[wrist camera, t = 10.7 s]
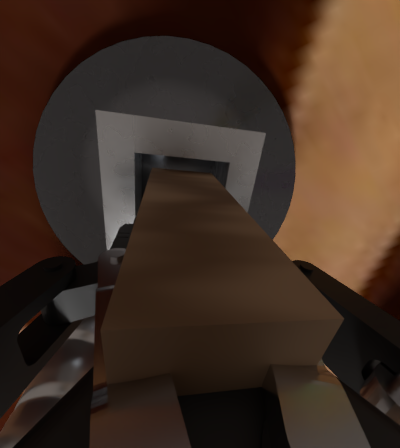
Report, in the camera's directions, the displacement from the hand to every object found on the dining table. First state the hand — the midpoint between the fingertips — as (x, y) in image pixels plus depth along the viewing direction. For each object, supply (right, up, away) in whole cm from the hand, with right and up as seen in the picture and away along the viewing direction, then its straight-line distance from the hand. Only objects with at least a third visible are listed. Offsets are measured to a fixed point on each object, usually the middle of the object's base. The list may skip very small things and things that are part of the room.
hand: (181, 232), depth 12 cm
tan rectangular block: (0, +2, +3) cm, 3 cm away
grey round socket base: (-1, +3, +7) cm, 8 cm away
